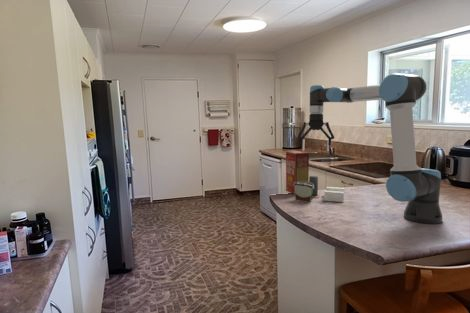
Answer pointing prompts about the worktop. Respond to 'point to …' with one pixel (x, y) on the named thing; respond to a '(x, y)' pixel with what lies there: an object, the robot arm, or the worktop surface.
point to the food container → (303, 191)
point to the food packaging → (296, 168)
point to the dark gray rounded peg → (315, 182)
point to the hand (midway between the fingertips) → (315, 151)
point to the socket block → (334, 194)
